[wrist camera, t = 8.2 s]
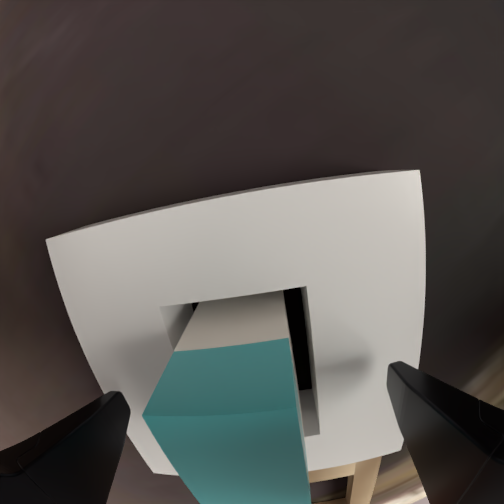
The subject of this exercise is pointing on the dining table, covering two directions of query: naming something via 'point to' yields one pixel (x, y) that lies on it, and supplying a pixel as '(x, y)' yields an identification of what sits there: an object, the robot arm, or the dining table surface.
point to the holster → (351, 480)
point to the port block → (261, 281)
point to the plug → (234, 405)
